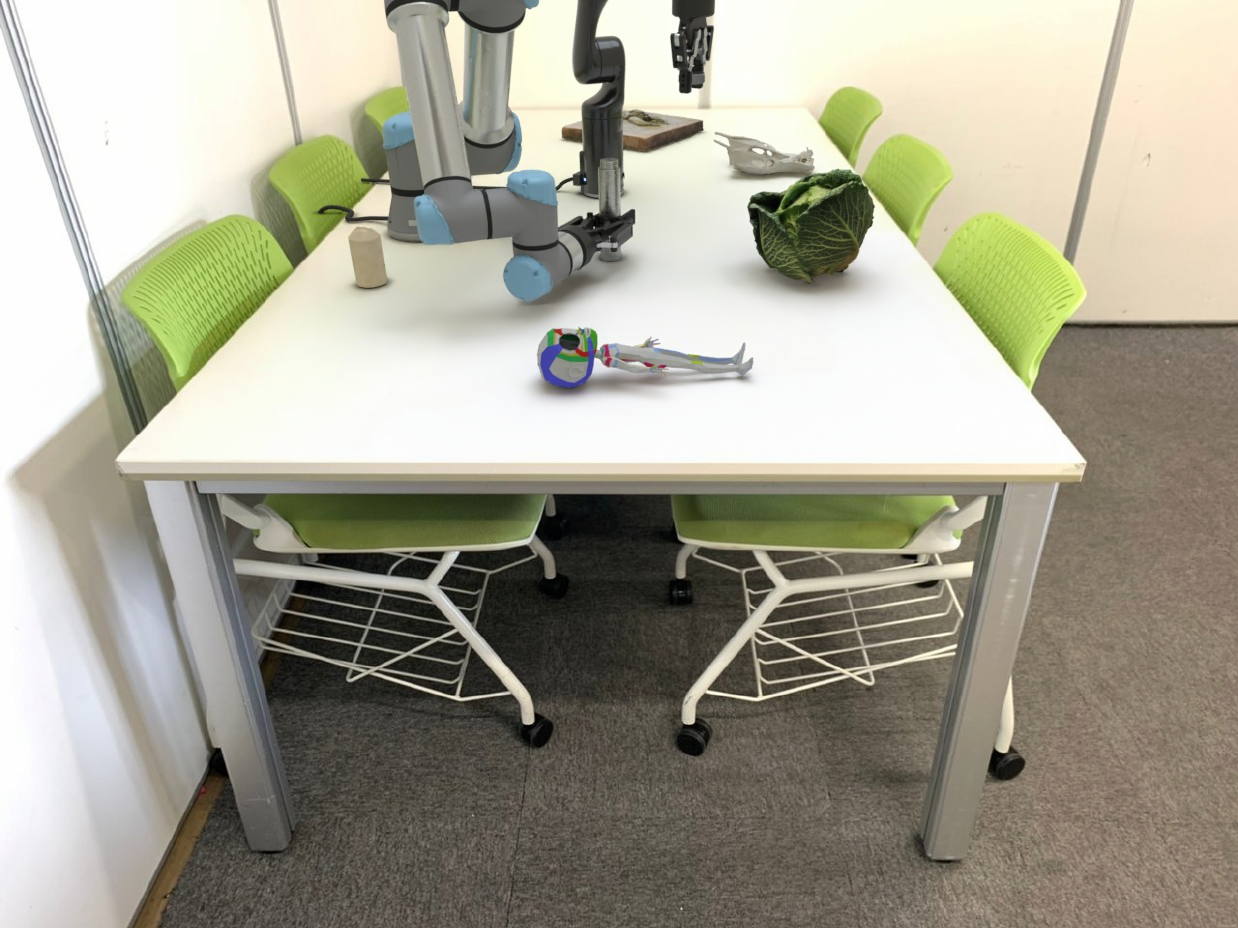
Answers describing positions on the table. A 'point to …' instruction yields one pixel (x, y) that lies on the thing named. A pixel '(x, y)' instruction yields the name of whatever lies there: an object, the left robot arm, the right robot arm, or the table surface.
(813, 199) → the vegetable
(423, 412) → the table surface
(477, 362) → the table surface
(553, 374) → the toy
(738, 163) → the anatomical model
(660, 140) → the plaque
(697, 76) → the lid
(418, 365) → the table surface
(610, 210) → the grey long cylinder
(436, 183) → the left robot arm
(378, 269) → the candle
